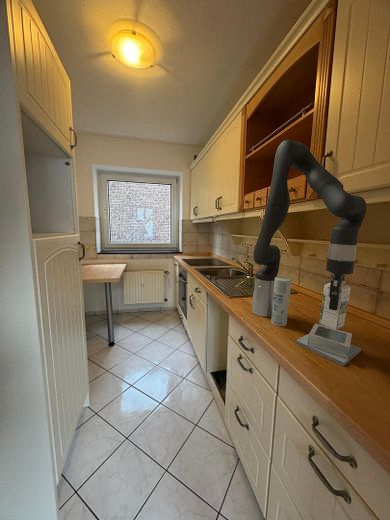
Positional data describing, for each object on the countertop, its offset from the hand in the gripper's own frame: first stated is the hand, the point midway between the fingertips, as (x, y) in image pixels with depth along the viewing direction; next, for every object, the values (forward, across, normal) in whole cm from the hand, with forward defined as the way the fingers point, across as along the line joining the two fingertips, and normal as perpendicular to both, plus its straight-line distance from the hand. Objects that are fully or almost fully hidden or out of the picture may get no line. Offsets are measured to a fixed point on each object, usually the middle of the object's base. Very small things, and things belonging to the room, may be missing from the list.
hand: (334, 306), depth 71 cm
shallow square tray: (+14, 0, 0) cm, 14 cm away
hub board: (+15, 0, 0) cm, 15 cm away
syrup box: (+7, 0, 0) cm, 7 cm away
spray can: (+15, -8, -20) cm, 26 cm away
